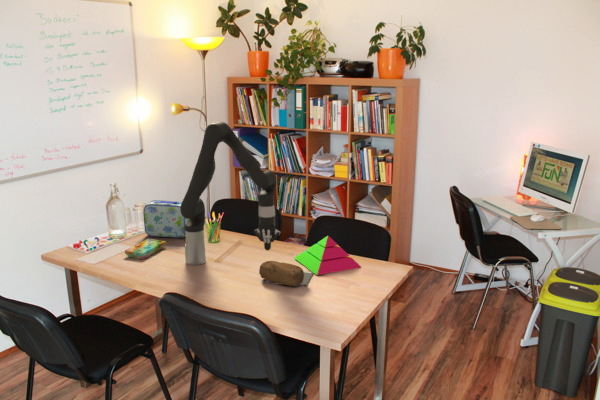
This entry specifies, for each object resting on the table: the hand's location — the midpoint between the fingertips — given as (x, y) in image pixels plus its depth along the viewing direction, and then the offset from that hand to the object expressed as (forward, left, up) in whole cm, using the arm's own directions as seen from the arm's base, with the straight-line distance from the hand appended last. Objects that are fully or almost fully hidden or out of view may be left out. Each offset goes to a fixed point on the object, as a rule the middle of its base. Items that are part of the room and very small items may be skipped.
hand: (267, 249), depth 249 cm
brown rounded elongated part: (-2, -1, -9) cm, 9 cm away
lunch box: (-74, +44, -13) cm, 87 cm away
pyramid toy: (+24, +22, -13) cm, 35 cm away
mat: (+10, 0, -13) cm, 17 cm away
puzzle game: (-73, +16, -14) cm, 76 cm away
